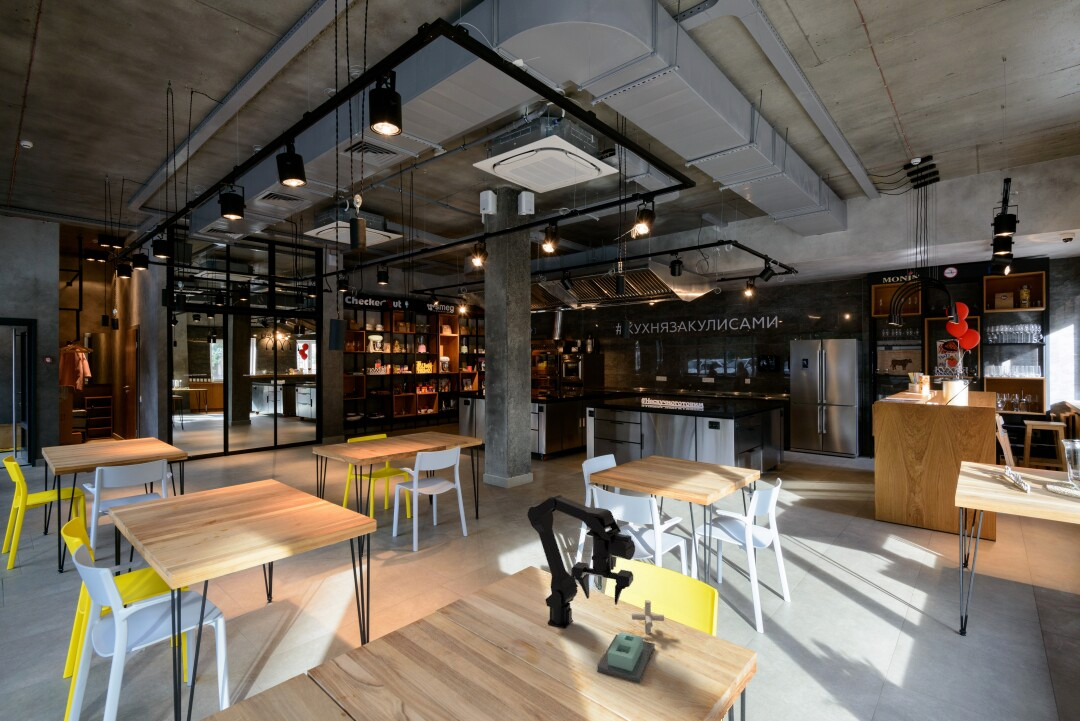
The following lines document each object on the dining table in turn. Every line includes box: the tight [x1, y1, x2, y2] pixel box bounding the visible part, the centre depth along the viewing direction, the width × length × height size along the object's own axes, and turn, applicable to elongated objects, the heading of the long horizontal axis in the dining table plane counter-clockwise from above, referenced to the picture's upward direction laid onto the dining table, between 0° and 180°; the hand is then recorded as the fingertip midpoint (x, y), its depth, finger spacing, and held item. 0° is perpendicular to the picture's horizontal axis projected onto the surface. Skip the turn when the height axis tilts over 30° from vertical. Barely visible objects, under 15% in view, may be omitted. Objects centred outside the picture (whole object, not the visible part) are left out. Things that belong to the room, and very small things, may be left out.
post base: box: [596, 634, 656, 684], centre depth 148 cm, size 12×18×4 cm, turn 154°
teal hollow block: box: [608, 631, 644, 671], centre depth 147 cm, size 12×7×4 cm, turn 154°
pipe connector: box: [631, 599, 665, 635], centre depth 162 cm, size 10×10×10 cm
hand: (601, 601), depth 159 cm, fingers open, 9 cm apart
